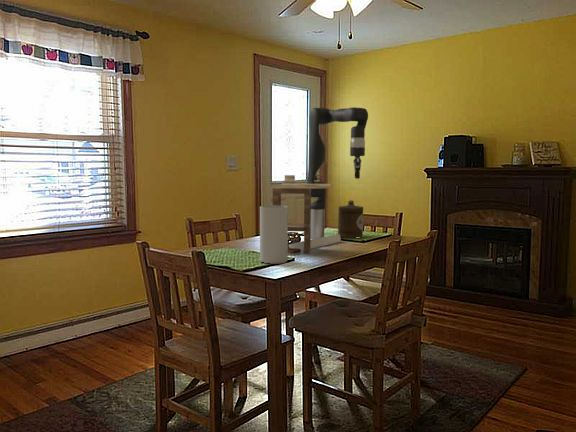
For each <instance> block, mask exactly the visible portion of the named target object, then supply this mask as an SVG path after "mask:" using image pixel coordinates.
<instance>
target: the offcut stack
mask: <svg viewBox="0 0 576 432" xmlns="http://www.w3.org/2000/svg"><path fill="white" fill-rule="evenodd" d="M295 176H296V175H295V174H294V175H293V174H292V175H291V174H285V175H284V180H283V181H282V184H296V177H295Z"/></svg>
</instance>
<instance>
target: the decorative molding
mask: <svg viewBox="0 0 576 432" xmlns="http://www.w3.org/2000/svg"><path fill="white" fill-rule="evenodd" d="M341 239H342V238H340V234H338V233H336V234H332V235H326V236H324V237H322V238H317V239H311V244H310V249H309V250H311V249H314V248H321V247H323V246H324V247H325V246H328V245H332V244H338V243H341V242H342V240H341ZM288 247H289V249H293V250H294V249H297V250H302V251H304V240H301V241H297V242H294V243H293V242H292V243H290V244H288Z"/></svg>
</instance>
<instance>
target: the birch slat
mask: <svg viewBox="0 0 576 432" xmlns="http://www.w3.org/2000/svg"><path fill="white" fill-rule="evenodd" d="M280 187H281V188H326V189H329V190H330V189H331V183H325V184H307V183H295V184H283V183H281V186H280Z"/></svg>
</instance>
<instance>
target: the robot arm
mask: <svg viewBox="0 0 576 432" xmlns="http://www.w3.org/2000/svg"><path fill="white" fill-rule="evenodd" d="M368 119H369V113H368V110H367V109H366V108H364V107H348V108H338V109H331V108H326V107H313V108H311V110H310V111H309V148H308V171H307V180H306V184H326V183H325V182H324V181H315V178H316V175H317V173H318V172H319V170H320V168H322V165H323V163H324V162H325V159H326V146H325V142H323V139H322V137H321V133H320V125H327V124H330V123H335V122H339V123H348V122H357V124H356V125H354V126H352V127H351V129H350V144H349V146H350V148H349V153H350V154H349V155H350V157H354V159H353V161H352V162H353V168H354V178H355V179H356V180H357V179H358V180H359V179H360V178H361V173H360V172H361V168H362V159H361V157H365V155H366V141H365V138H366V137H365V136H366V135H365V133H366V127H367V123H368ZM326 192H327V188H311V198H317V199H316V200H314V201H313V202H311V240H312V239H317V238H322V237H325V221H326V220H325V217H326V216H325V215H326V214H325V213H326V211H325V209H326V208H325V206H326V195H327V194H326Z"/></svg>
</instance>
